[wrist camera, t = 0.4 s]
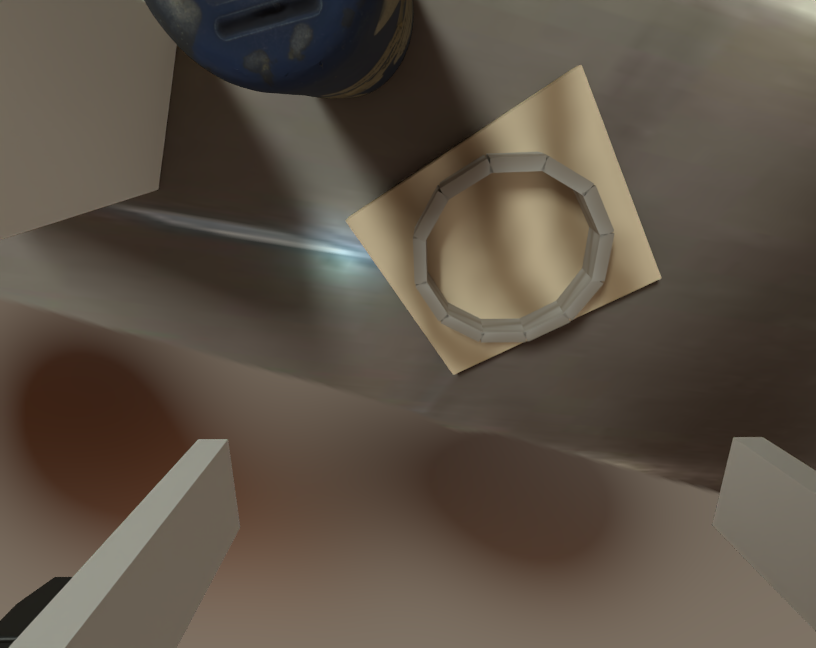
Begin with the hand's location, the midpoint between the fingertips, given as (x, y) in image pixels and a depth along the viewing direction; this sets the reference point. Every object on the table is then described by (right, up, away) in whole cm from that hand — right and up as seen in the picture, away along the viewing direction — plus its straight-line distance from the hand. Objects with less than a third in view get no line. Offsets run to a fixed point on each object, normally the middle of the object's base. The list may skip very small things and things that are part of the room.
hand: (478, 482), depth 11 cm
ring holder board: (+6, +11, +24) cm, 27 cm away
